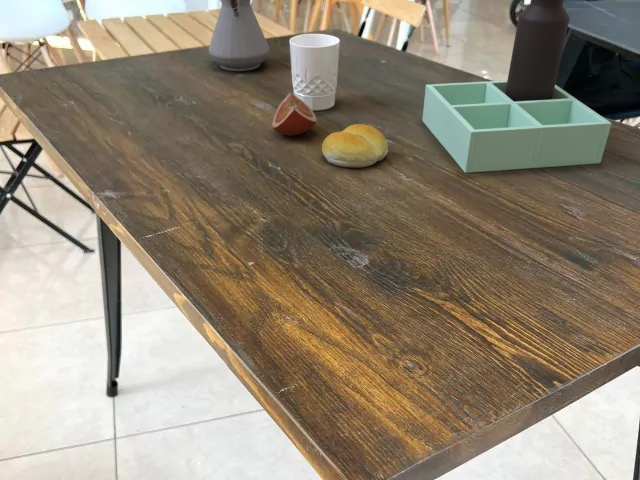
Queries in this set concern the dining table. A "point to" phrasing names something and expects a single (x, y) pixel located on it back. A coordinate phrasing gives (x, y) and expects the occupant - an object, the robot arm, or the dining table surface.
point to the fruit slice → (293, 116)
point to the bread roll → (355, 146)
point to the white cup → (315, 69)
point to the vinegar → (537, 51)
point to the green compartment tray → (512, 127)
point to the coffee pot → (238, 37)
